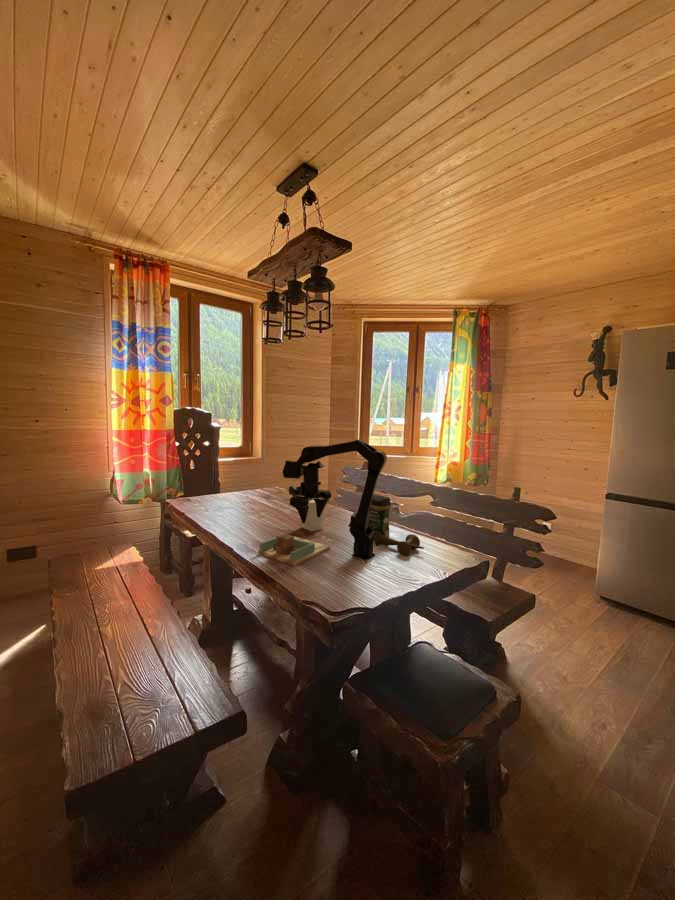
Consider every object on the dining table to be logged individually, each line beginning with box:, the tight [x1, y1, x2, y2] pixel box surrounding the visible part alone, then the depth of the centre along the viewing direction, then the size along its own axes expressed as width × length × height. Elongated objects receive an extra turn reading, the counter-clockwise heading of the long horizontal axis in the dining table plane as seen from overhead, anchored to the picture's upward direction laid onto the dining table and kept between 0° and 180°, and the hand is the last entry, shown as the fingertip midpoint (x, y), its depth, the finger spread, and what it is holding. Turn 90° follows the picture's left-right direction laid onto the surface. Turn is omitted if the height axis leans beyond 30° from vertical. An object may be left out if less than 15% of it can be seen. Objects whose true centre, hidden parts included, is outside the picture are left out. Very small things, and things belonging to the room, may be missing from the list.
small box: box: [301, 500, 324, 533], centre depth 168 cm, size 8×6×13 cm
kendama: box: [374, 533, 425, 557], centre depth 144 cm, size 6×10×20 cm
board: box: [258, 536, 331, 567], centre depth 140 cm, size 18×20×4 cm
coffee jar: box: [368, 493, 391, 542], centre depth 155 cm, size 10×8×19 cm
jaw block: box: [275, 533, 295, 556], centre depth 135 cm, size 5×4×6 cm
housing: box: [259, 536, 315, 561], centre depth 137 cm, size 16×12×3 cm
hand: (311, 520), depth 141 cm, fingers open, 9 cm apart
